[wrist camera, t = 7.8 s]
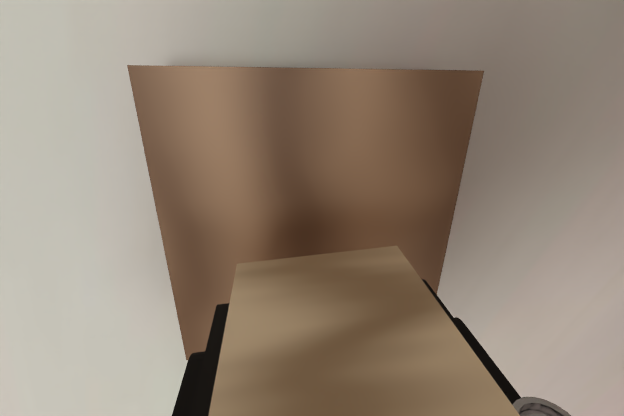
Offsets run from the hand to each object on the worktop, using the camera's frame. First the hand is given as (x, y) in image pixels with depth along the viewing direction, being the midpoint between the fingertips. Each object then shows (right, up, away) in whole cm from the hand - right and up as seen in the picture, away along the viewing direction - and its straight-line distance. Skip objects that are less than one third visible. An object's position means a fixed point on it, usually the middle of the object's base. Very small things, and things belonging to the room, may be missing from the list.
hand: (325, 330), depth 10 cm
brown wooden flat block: (-1, +4, +10) cm, 11 cm away
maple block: (0, 0, +1) cm, 1 cm away
